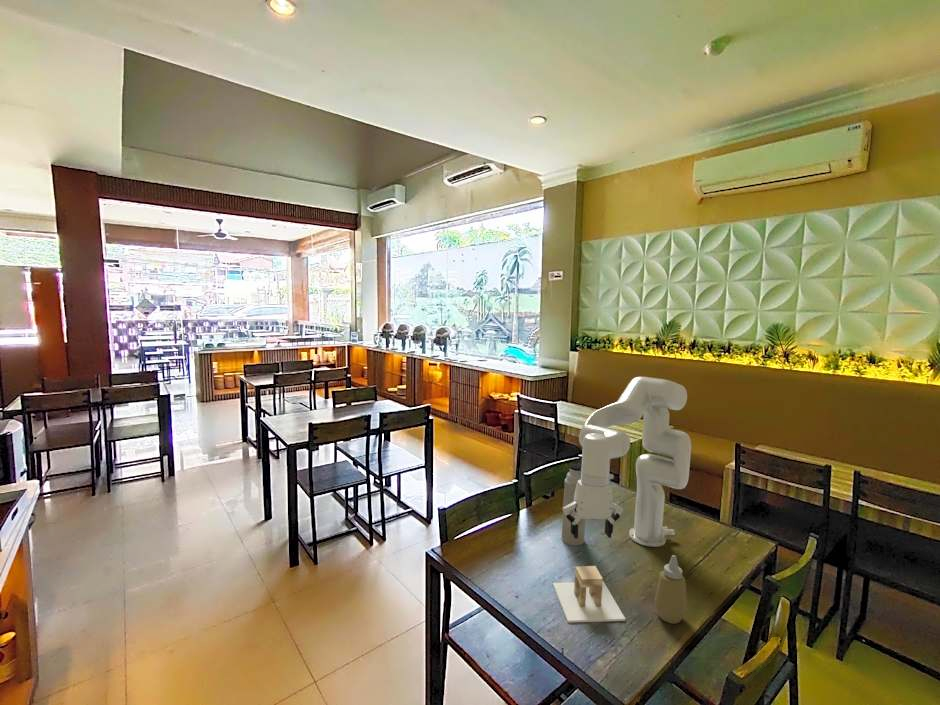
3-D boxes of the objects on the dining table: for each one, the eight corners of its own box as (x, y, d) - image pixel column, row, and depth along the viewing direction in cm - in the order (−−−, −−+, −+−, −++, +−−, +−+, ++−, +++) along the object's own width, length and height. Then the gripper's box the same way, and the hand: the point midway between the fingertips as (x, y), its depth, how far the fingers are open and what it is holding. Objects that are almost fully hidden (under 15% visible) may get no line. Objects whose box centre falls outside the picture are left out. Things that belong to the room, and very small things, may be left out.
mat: (603, 583, 138) (603, 581, 137) (625, 620, 122) (625, 618, 122) (552, 584, 136) (552, 582, 136) (567, 622, 120) (568, 620, 120)
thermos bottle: (560, 533, 166) (564, 461, 163) (582, 534, 166) (586, 462, 162) (562, 544, 159) (566, 469, 155) (585, 546, 158) (590, 470, 154)
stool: (593, 592, 132) (595, 566, 131) (601, 606, 126) (602, 578, 125) (573, 593, 132) (575, 566, 131) (580, 607, 126) (582, 579, 125)
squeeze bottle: (648, 607, 127) (652, 548, 125) (675, 606, 128) (680, 547, 126) (662, 628, 119) (667, 565, 117) (691, 626, 120) (697, 564, 118)
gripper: (619, 472, 129) (615, 528, 131) (560, 473, 128) (557, 529, 130) (630, 483, 121) (626, 542, 124) (568, 484, 120) (565, 543, 122)
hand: (591, 535), depth 127 cm, fingers open, 9 cm apart
